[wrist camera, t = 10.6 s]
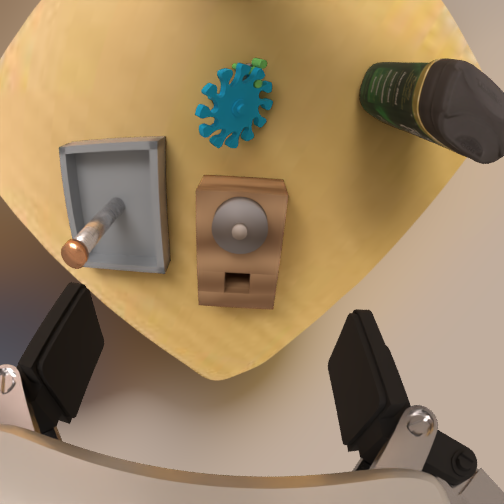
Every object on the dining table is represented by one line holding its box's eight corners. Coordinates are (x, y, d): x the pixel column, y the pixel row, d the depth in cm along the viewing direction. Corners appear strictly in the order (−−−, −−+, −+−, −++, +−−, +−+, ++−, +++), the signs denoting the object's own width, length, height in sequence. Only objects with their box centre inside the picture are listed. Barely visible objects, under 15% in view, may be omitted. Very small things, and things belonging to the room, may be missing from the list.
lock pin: (106, 195, 37) (58, 243, 26) (125, 195, 37) (81, 244, 26) (108, 215, 39) (65, 267, 28) (127, 215, 39) (87, 269, 28)
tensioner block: (203, 175, 37) (191, 199, 30) (283, 179, 38) (291, 204, 30) (204, 279, 45) (195, 319, 38) (270, 283, 46) (274, 323, 38)
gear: (246, 161, 35) (185, 135, 27) (217, 143, 38) (158, 117, 29) (294, 85, 31) (245, 39, 23) (260, 73, 34) (209, 33, 26)
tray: (72, 141, 34) (58, 147, 31) (165, 136, 35) (157, 141, 32) (88, 254, 43) (79, 266, 40) (170, 260, 44) (165, 273, 41)
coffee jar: (350, 109, 33) (429, 132, 17) (368, 55, 29) (457, 40, 13) (412, 138, 34) (504, 183, 18) (429, 88, 30) (529, 105, 14)
